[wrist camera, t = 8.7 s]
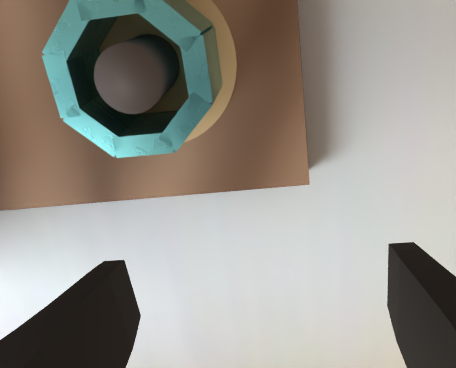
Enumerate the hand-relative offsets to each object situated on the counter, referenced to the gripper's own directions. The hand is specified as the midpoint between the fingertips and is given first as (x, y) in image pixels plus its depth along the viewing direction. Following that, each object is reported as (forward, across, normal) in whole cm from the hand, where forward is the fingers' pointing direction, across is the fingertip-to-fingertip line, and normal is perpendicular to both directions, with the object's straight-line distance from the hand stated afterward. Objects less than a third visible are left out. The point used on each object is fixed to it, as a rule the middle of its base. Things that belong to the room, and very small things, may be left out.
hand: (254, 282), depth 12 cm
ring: (+8, +4, -5) cm, 10 cm away
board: (+9, +7, -5) cm, 13 cm away
